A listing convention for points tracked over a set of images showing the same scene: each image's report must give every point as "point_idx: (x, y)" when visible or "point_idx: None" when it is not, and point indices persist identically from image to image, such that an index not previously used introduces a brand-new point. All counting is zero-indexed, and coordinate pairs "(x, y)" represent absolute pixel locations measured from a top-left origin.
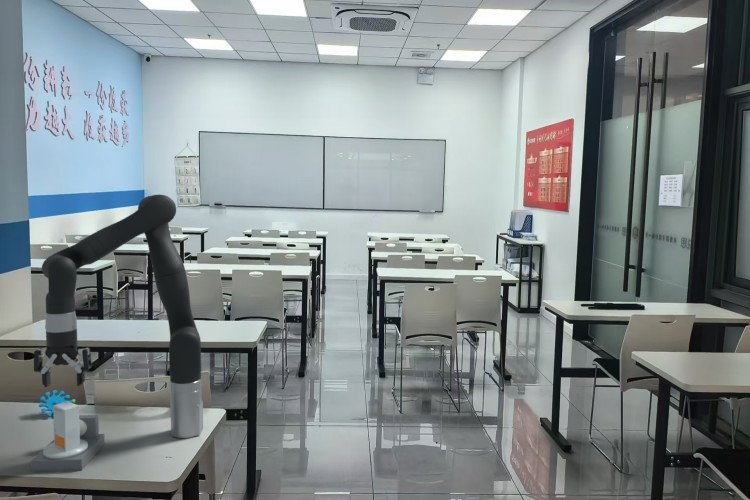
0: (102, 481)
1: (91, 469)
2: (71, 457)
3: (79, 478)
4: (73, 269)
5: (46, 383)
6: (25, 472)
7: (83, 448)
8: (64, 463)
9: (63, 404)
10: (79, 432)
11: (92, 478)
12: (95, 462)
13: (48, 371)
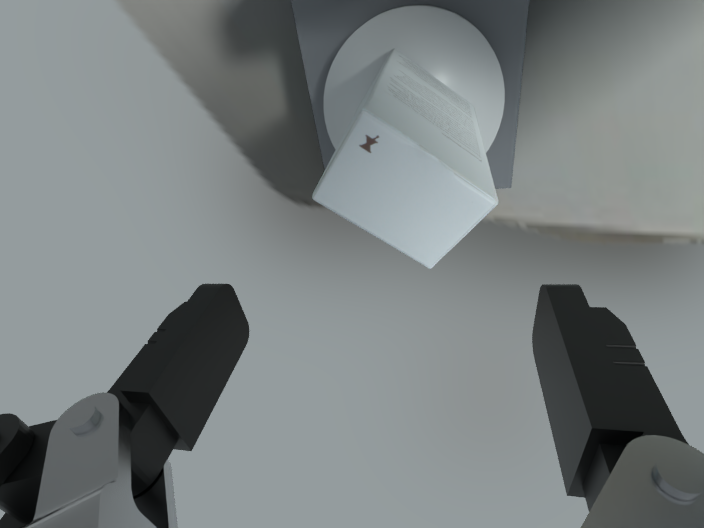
0: (599, 242)
1: (539, 164)
2: None
3: (515, 223)
4: None
5: (233, 361)
6: None
7: (497, 126)
8: None
9: (373, 183)
10: (479, 128)
11: (560, 224)
12: (540, 105)
13: (146, 423)
